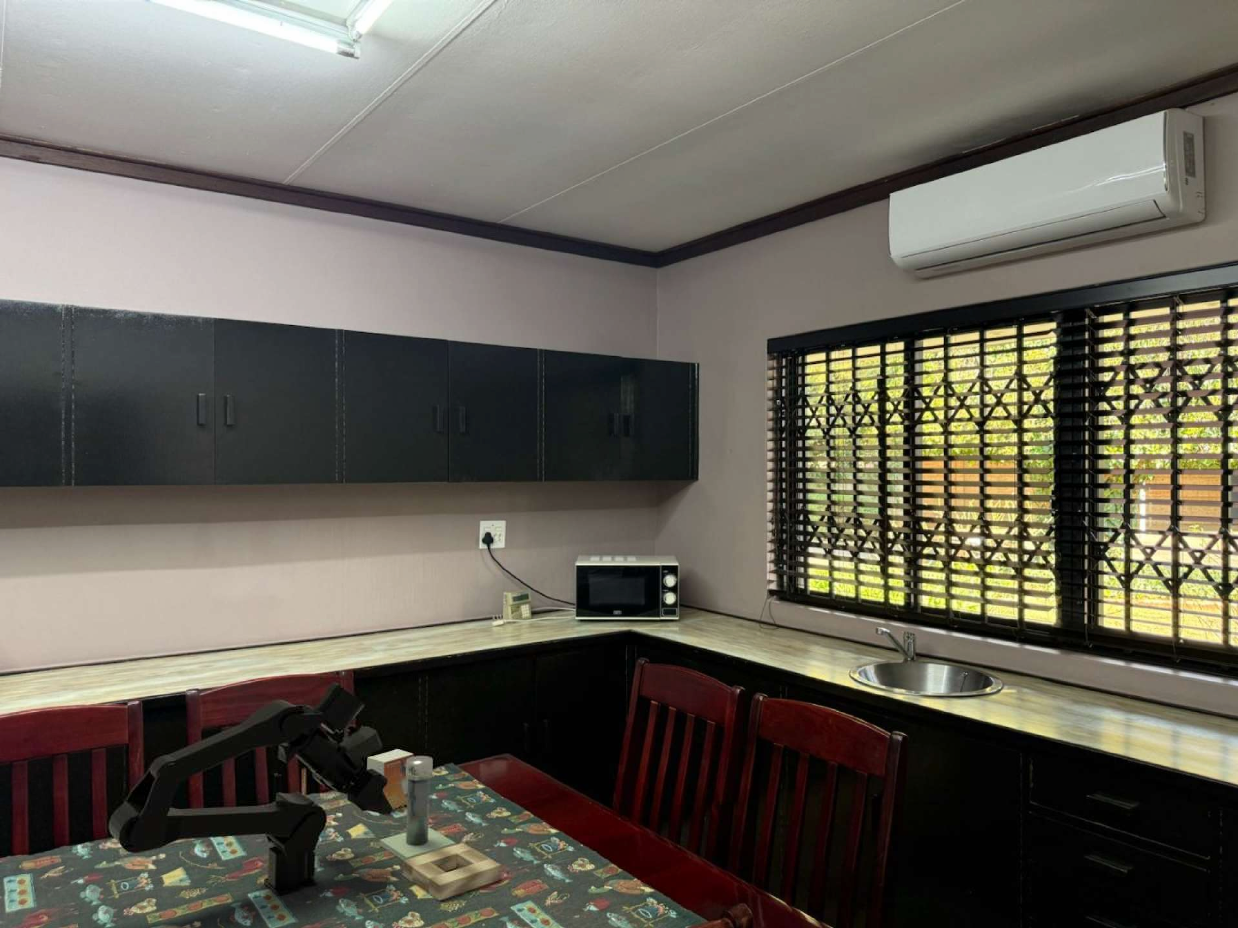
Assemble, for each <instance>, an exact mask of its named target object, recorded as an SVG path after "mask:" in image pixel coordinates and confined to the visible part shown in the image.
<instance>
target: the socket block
mask: <svg viewBox="0 0 1238 928" xmlns="http://www.w3.org/2000/svg"><path fill="white" fill-rule="evenodd" d="M402 876H403V877H405V878H406V879H407V880H409V881H410V882H412V883H413V884H414V885H416V886H417V887H419V888H420V889H422V890H423V891H425V892H426V893H428V894H429V895H431V896H432V897H433V898H435V899H436V900H437V901H443V900H445V899H449V898H450V897H453V896H457V895H460V894H462V893H465V892H468V891H471V890H475V889H477V888H480V887H482V886H485V885H489V884H492V883H494V882H497V881H500V879H501V876H502V864H501V863H499V862H497V861H495V860H493V859H492V858H490V857H488V856H486V855H485V854H483V853H481V852H479V851H478V850H475V848H473V847H471V846H469V845H467V844H466V843H464V842H461V843H458V844H455V845H454V846H451V847H447V848H444V849H441V850H437V851H434V852H431V853H427V854H424V855H421V856H417V857H414V858H411V859H407V860H404V861H403V860H402Z"/></svg>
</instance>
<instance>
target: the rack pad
mask: <svg viewBox="0 0 1238 928" xmlns="http://www.w3.org/2000/svg"><path fill="white" fill-rule="evenodd" d="M454 845H456V842H455V841H453V840H451V839H450V838H449V837H446V836H444V835H443V834H441V833H440V832H437V831H436V830H434V829H433V828H430V827H429V826H428V842H427V843H426V844H423V845H419V846H412V845H408V844H407V843H406V832H402V833H399V834H396V835H392V836H389V837H385V838H382V839H380V840H379V846H381V847H382V848H383V849H385V850H386V851H388V852H390V853H391V854H392V855H394V856H396V857H397V858H399V859H400V860H401V861H402V862H403V861H404V860H407V859H411V858H414V857H417V856H421V855H424V854H427V853H431V852H434V851H437V850H441V849H444V848H447V847H451V846H454Z"/></svg>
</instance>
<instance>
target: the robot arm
mask: <svg viewBox="0 0 1238 928" xmlns="http://www.w3.org/2000/svg"><path fill="white" fill-rule="evenodd" d="M364 707H365V704H364V703H363V701H362V700H361V699H359V698H358V697H357V695H354V694H352V693H351V692H349V691H348V690H346V689H345V688H343V687H342V686H341V684H339V683H336V682H333V683H332V684H331V685H330V686H329V687H328V689H327V691H326V692H325V694H323V696H322V697H320V699H319V700H318V701H317V702H316V704H315V705H314V706H313V707H312V706H310V705H307V704H293V703H291V702H289V701H286V700H283V699H275V700H272V701H270V702H268V703H267V704H265V705H263V706H262V707H260V708H259V709H256V710H255V711H253V713H251V715H250V716H248V718H246V719H245V720H244V721H242V722H241V723H239V724H238V725H235V726H233V727H230V728H228V729H226V730H223V731H221V732H218V733H216V734H214V735H211V736H209V737H207V738H204V739H201V740H200V741H198V742H197V741H196V743H193V744H190V745H189V746H186V747H183V748H181V749H179V750H176V751H174V752H172V753H170V754H165V755H161V756H159V757H156V758H155V759H154V760H153V762H151V764H150V765H149V767H148V769H147V771H146V773H145V774H144V775H143V776H142V777H141V779H140V780H139V781H138V782H137V783H136V785H134V786H133V788H131V791H129V794H128V795H127V797H126V799H125V800H124V802H123V803H122V804H121V805H120V806H119V807H118V808H116V809H115V810H114V812H113V813H112V814H111V816H110V819H109V822H108V830H109V833H110V834H111V836H112V837H113V838H114V839H115V840H116V841H117V843H118V844H119V845H120V846H121V848H122V849H123V850H125V851H126V852H127V853H130V854H139V853H140V854H141V853H145V852H149V851H153V850H156V849H157V850H158V849H162V848H163V847H167V846H168V845H170V844H172V843H175V842H177V841H180V840H189V839H190V840H193V839H208V838H222V837H223V838H224V837H227V838H228V837H239V836H257V835H265V838H266V841H267V842H268V843H269V844H271V845H272V846H271V847H269V848H268V865H267V867H268V869H267V873H268V875H267V877H265V878H264V879H263V883H264V884H265V885H266V886H267V887H268V888H270V890H272V891H273V892H274V893H275V894H276V895H278V896H281V895H285V894H287V893H292V892H294V891H298V890H301V889H304V888H308V887H311V886H315V885H317V880H316V879H314V877H315V873H316V872H315V870H316V852H315V850H316V847H317V844H318V842H319V839H320V836H321V834H322V833H323V831H324V829H325V827H326V825H327V822H328V820H327V819H328V816H327V813H326V811H325V809H324V808H323V807H322V806H320V805H319V804H318V803H316V802H315V801H313V800H312V799H311V798H309V797H307V796H306V795H304V793H301V792H300V791H298V790H297V791H294V792H292V793H290V792H289V793H284V792H276V794H275V801H273V802H270V803H269V804H266V805H265V804H264V805H251V806H249V805H248V806H247V805H246V806H226V807H224V806H222V807H200V808H199V807H198V808H181V809H180V808H173V807H172V803H173V801H174V797H175V795H176V791H177V790H178V788H179V786H180V784H181V783H182V782H183V781H185V780H187V779H189V778H192V777H193V776H196V775H198V774H200V773H203V772H205V771H208V770H210V769H213V768H214V767H216V766H218V765H221V764H224V763H225V762H227V761H230V760H231V759H234V758H236V757H239V756H241V755H242V754H245V753H248V752H249V751H252V750H256V749H260V748H267V747H275V746H278V752H277V753H278V754H277V758H278V759H279V760H281V761H283V762H284V763H285V764H289V763H290V762H291V761H292V760H293V758H294V757H296V758H297V759H298V760H299V761H300V762H302V763H303V764H304V765H305V766H307V768H308V770H310V771H311V772H312V778H313V779H314V780H316V781H317V782H318V783H319V784H320V785H322V786H324V787H326V788H327V789H328V790H331V791H334V792H337V793H341V794H343V795H347V799H346V800H347V802H349V803H351V804H352V805H353V806H354V807H355V808H357V809H359V810H360V811H361V812H373V813H377V814H383V815H387V816H390V815H391V813H393V811H394V810H393V808H392V807H391V805H390V803H389V801H388V800H387V798H386V796H385V794H384V792H383V789H384V787H385V786H386V785H387V783H388V780H387V779H386V778H385V777H384V776H383V775H382V774H381V773H379V772H377V771H375V770H374V769H368V770H367V769H365V770H364V771H363V772H362V771H360V770H361V769H362V767H363V766H364V764H365V763H364V761H362V760H364V759H367V758H368V757H370V755H372V754H373V753H375V752H376V751H379V750H381V749H382V747H383V744H382V742H381V739H380V737H379V734H378V732H377V730H375V729H374V728H371V727H370V726H363V725H361V726H360V727H357V726H356V725H354V724H352V721H353V720H354V719H355V718H356V716H357V715H358V714H359V713H360V711H362V709H363V708H364ZM350 723H351V724H350ZM320 726H322V727H323V728H324V729H325V730H327V731H328V732H329V733H331V734H335V732H338V734H340V733H343V737H342V740H343V741H342V742H340V743H339V742H338V741H336V740H334V739H332V737H330V736H329V735H328V734H327V733H326V732H325V731H323V730H322V728H320Z"/></svg>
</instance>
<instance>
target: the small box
mask: <svg viewBox="0 0 1238 928" xmlns="http://www.w3.org/2000/svg"><path fill="white" fill-rule="evenodd" d="M410 757H415V755H414V753H412V752H408V751H405V750H402V749H398V748H395V749H394V750H390V751H387V752H383V753H380V754H376V755H373V756H367V757H366V759H367V760H366V761H367V763H366V770H368V769H374V770H375V771H377V772H379V773H381V774H382V775H383V776H384V777H385V778H386V779H387V780H388V783H387V785H386V786H385V787H384V789H383V792H384V794H385V796H386V798H387V800H388V801H389V803H390V805H391V807H392V808H393V811H394V810H396V808H397V809H400V808H401V807H400V806H403V807H405V806H404V805H407V793H408V779H407V778H406V760H407V759H408V758H410ZM399 807H400V808H399Z"/></svg>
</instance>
